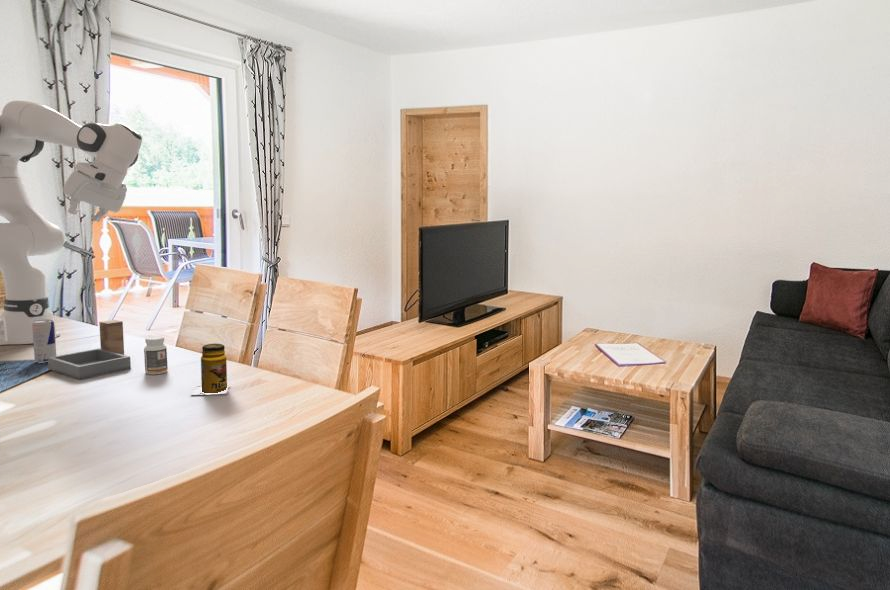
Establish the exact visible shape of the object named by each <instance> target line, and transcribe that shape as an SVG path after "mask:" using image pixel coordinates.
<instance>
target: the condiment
mask: <svg viewBox="0 0 890 590" xmlns="http://www.w3.org/2000/svg"><path fill="white" fill-rule="evenodd" d="M225 348H226V346H225V345H224V344H222V343H208V344H205V345H203V346H202V348H201V349H202V351H201V357H200V374H201V375H200V379H201V385H200V386H201V387H202V392H204V393H218V392H221V391H224V390H226V388H227V386H228V373H227V372H228V368H227V367H228V366H227V361H228V360H227V355H226V354H225V353H226V351H225ZM200 386H198V387H200Z"/></svg>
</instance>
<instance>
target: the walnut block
mask: <svg viewBox="0 0 890 590" xmlns="http://www.w3.org/2000/svg"><path fill="white" fill-rule="evenodd" d="M98 324H99V338H100V339H99V340H100V343H99V344H100V349H103V350H107V351H111V352H115V353H118V354H122V355H125V344H124V343H125V342H124V323H123V321H122V320H116V319H110V320H109V319H108V320H103V321H99V322H98Z"/></svg>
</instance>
